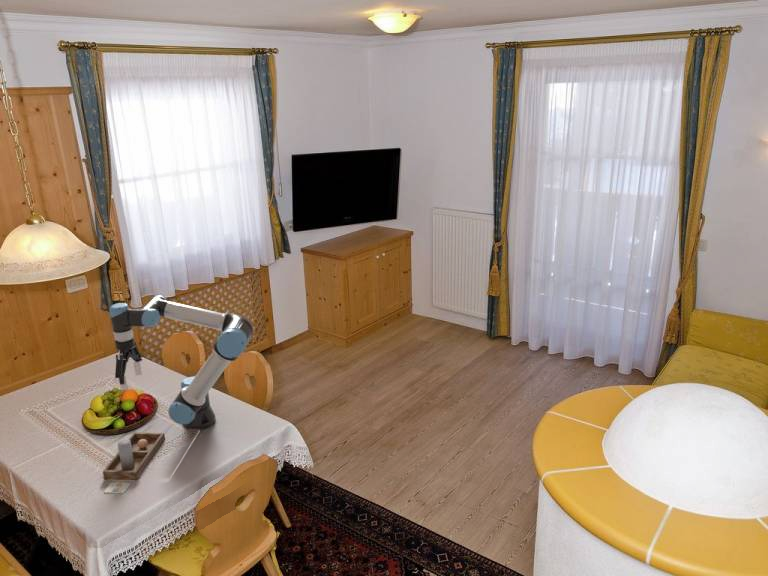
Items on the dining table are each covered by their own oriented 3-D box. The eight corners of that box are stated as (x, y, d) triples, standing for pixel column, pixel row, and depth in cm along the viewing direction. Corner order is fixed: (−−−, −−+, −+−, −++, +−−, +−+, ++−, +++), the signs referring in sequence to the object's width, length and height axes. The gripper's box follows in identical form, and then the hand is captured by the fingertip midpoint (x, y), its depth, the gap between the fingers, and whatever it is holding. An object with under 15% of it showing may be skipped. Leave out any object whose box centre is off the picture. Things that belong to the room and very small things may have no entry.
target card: (130, 483, 237) (130, 482, 237) (123, 493, 231) (123, 492, 231) (111, 483, 237) (111, 482, 237) (103, 492, 232) (103, 491, 232)
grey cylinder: (136, 463, 248) (132, 439, 244) (131, 471, 243) (127, 446, 239) (125, 463, 248) (121, 439, 244) (119, 470, 243) (115, 446, 239)
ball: (149, 444, 260) (148, 437, 259) (145, 450, 257) (144, 442, 255) (140, 444, 261) (139, 437, 259) (136, 450, 257) (135, 442, 255)
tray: (165, 440, 265) (164, 433, 264) (137, 480, 239) (136, 472, 237) (135, 439, 266) (134, 432, 264) (104, 479, 240) (102, 471, 238)
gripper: (129, 326, 262) (136, 368, 270) (100, 351, 239) (109, 396, 246) (145, 326, 262) (152, 368, 269) (118, 351, 239) (126, 396, 246)
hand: (131, 382), depth 258 cm, fingers open, 13 cm apart
